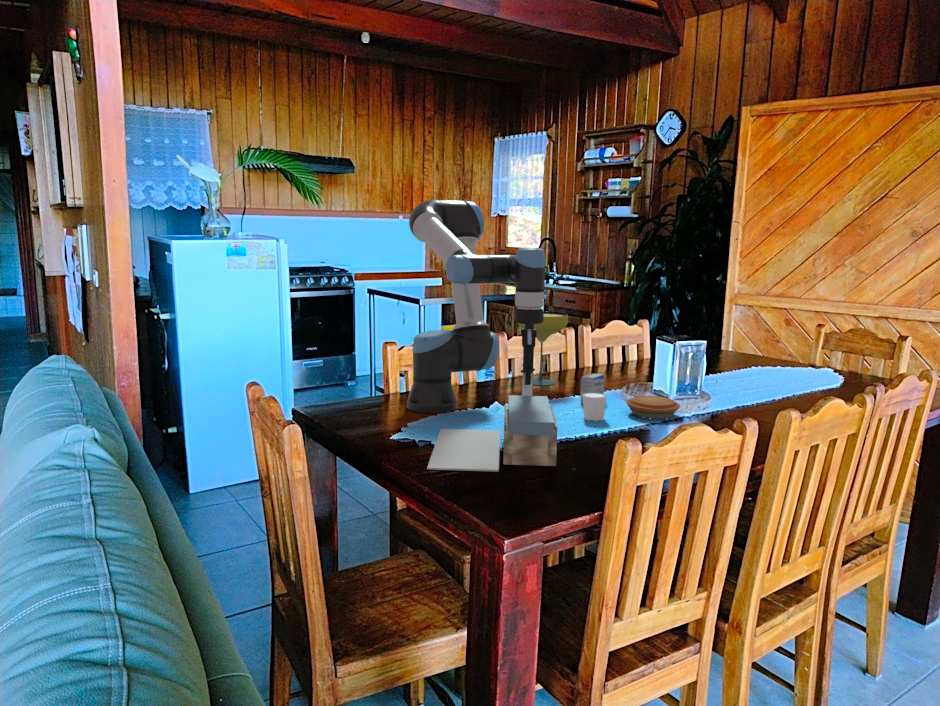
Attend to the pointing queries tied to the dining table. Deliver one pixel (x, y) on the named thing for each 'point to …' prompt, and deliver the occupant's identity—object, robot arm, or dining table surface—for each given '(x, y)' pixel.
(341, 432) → the dining table surface
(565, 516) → the dining table surface
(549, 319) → the cocktail glass
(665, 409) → the pie
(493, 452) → the mat
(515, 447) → the wooden box
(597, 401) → the white cup
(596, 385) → the medicine box
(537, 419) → the pale grey block
